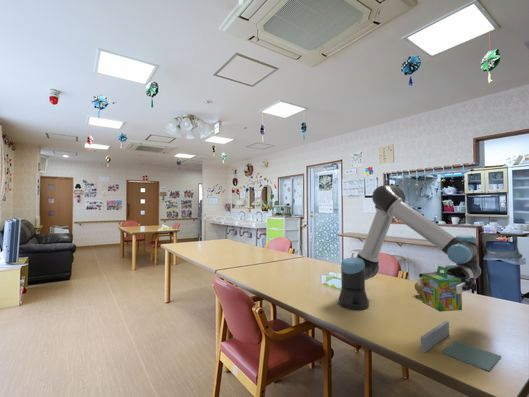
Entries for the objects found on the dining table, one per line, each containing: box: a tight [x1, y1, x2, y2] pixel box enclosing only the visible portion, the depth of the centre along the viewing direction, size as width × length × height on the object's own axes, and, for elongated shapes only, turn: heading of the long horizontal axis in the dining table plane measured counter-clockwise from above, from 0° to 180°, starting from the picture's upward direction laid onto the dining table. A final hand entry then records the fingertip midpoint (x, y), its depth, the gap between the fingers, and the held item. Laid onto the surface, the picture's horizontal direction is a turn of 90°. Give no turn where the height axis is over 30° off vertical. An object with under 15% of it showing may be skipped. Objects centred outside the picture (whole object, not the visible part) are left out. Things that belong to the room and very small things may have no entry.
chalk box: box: [421, 265, 463, 313], centre depth 100 cm, size 9×9×15 cm
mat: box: [441, 340, 502, 372], centre depth 92 cm, size 13×13×1 cm
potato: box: [414, 281, 423, 298], centre depth 147 cm, size 10×14×8 cm
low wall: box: [420, 320, 450, 354], centre depth 101 cm, size 1×22×5 cm, turn 126°
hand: (437, 285), depth 98 cm, fingers closed on chalk box, 12 cm apart
